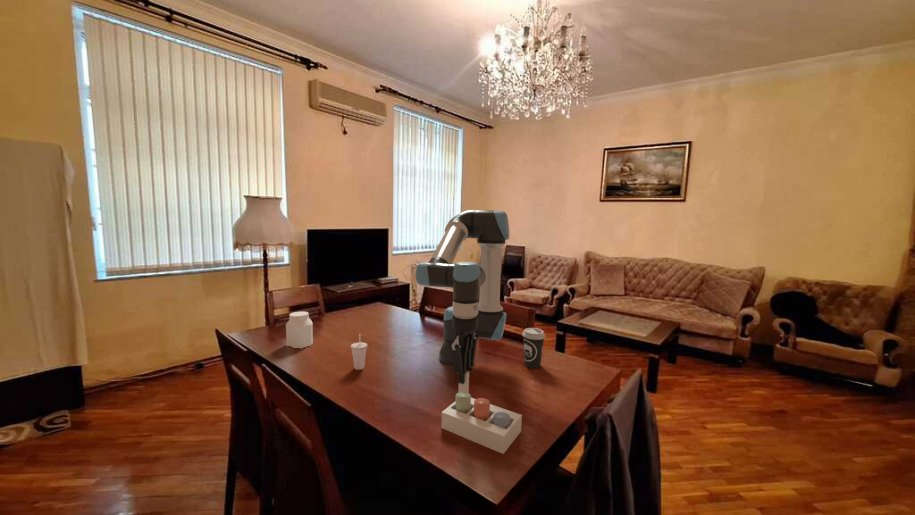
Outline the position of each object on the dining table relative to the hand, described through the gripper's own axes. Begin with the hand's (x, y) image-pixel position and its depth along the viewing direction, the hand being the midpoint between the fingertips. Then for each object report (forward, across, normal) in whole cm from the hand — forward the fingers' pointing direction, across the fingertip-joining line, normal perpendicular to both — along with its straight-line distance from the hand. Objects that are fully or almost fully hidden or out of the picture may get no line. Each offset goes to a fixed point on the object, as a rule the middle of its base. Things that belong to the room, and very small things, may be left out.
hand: (463, 392), depth 104 cm
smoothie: (+10, +8, +55) cm, 56 cm away
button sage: (+7, 0, 0) cm, 7 cm away
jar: (+10, +10, +98) cm, 99 cm away
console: (+10, 0, -6) cm, 12 cm away
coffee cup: (+10, +52, -2) cm, 53 cm away
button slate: (+10, 0, -13) cm, 16 cm away
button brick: (+7, 0, -6) cm, 10 cm away
